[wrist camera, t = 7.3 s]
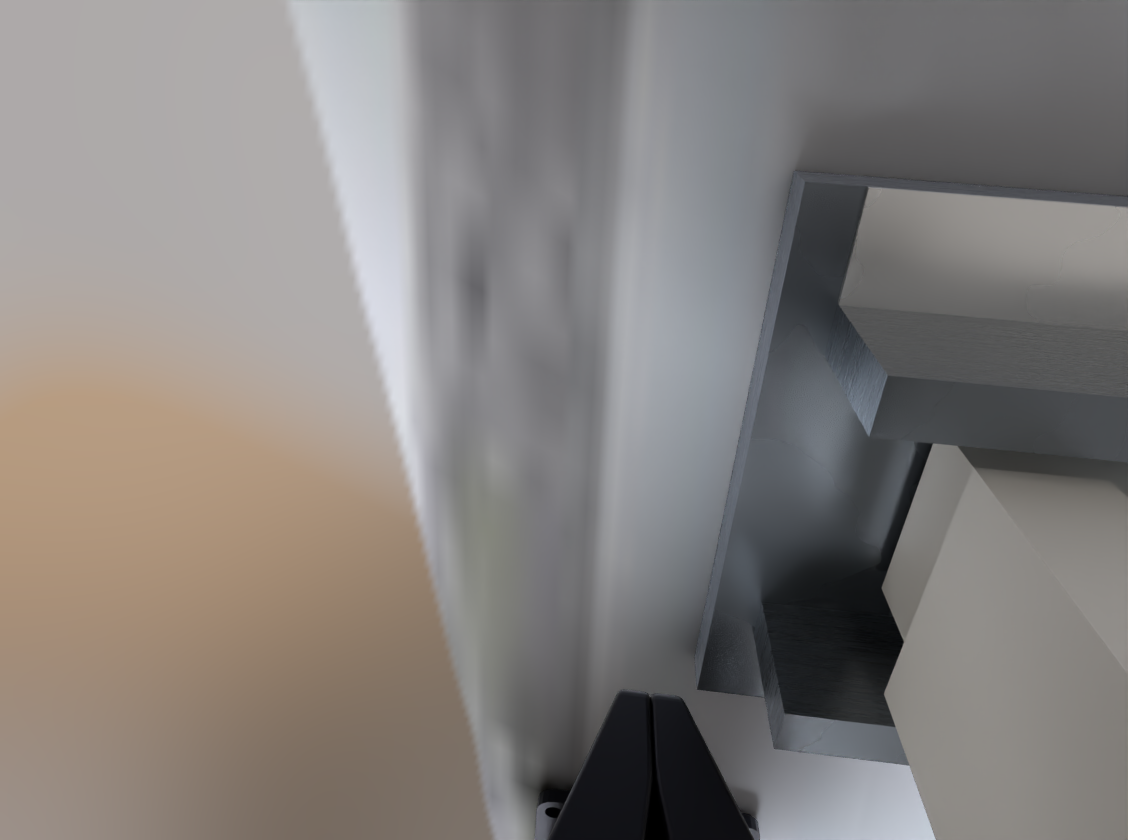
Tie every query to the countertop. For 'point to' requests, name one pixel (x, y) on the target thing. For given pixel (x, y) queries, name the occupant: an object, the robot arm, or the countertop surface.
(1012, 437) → the bench
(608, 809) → the robot arm
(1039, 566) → the off-white rectangular block
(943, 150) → the countertop surface
